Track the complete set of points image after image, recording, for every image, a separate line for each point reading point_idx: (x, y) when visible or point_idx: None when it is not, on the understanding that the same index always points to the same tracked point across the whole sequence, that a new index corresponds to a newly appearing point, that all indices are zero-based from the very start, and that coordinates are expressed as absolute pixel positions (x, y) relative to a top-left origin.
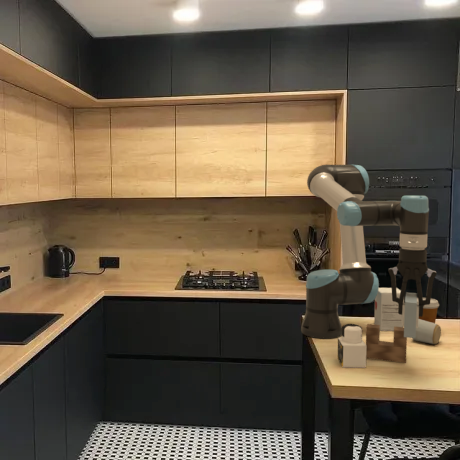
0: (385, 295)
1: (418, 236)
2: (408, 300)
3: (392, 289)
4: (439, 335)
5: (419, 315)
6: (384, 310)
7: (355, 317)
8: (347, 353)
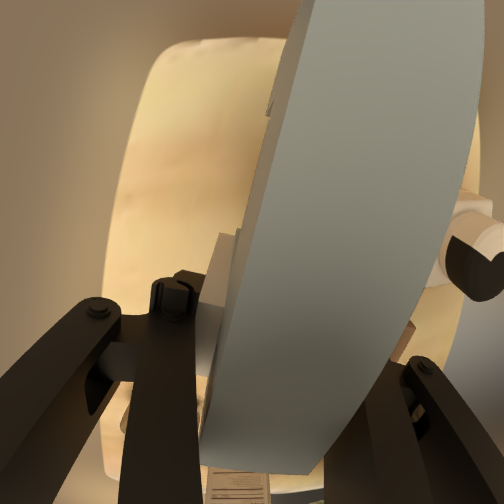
0: None
1: None
2: (445, 44)
3: (484, 438)
4: (127, 410)
5: (200, 277)
6: (257, 492)
7: (297, 489)
8: (465, 194)
